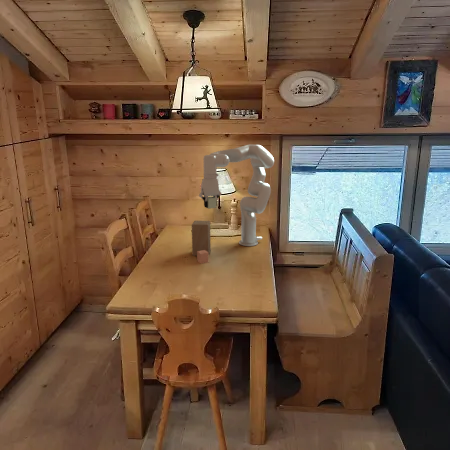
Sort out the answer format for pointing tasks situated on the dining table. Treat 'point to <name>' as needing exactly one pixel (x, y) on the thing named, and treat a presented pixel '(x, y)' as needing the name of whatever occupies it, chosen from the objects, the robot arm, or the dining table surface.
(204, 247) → the wooden block
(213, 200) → the brick sage
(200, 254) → the brick terracotta
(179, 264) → the dining table surface
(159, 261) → the dining table surface
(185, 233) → the dining table surface
